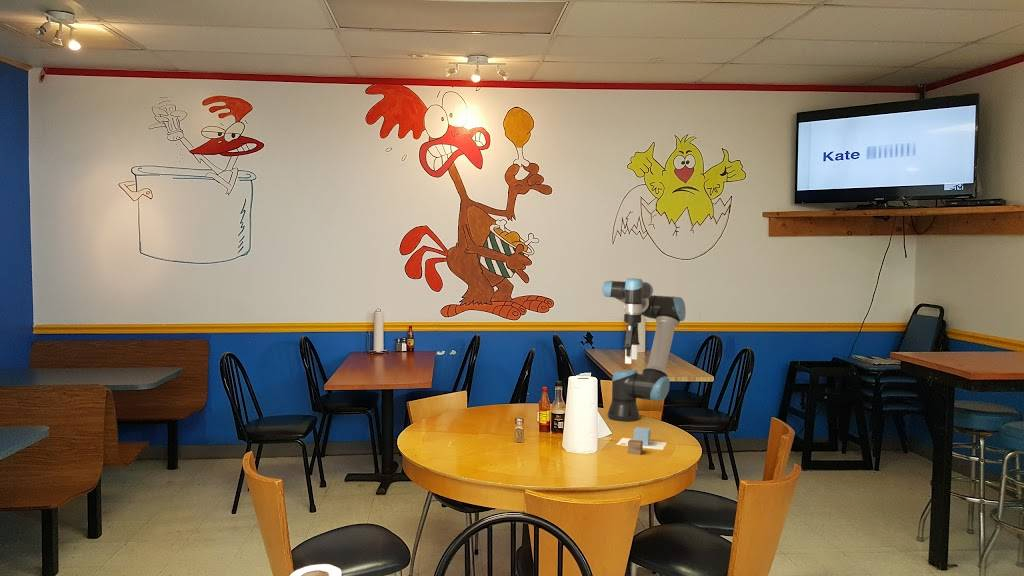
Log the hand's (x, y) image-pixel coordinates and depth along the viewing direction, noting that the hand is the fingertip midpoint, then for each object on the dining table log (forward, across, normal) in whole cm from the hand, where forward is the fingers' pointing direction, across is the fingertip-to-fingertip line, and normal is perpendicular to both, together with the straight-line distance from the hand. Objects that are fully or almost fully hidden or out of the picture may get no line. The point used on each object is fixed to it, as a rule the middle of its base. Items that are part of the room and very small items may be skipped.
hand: (631, 361), depth 334 cm
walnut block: (+32, +33, +9) cm, 47 cm away
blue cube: (+31, +18, +9) cm, 37 cm away
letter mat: (+32, +18, +9) cm, 38 cm away
